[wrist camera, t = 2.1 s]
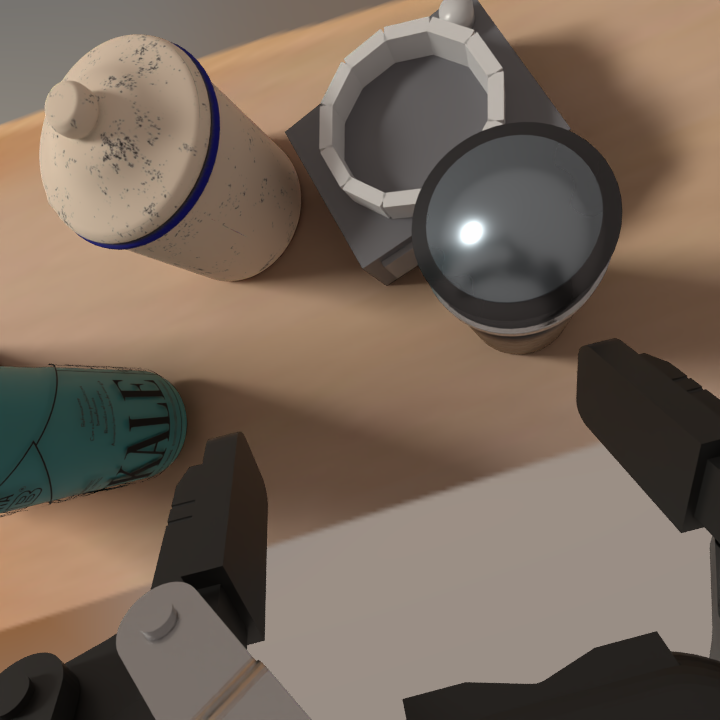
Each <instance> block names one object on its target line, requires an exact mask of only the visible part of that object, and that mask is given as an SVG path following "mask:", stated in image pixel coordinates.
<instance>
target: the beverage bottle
mask: <svg viewBox="0 0 720 720" xmlns="http://www.w3.org/2000/svg"><path fill="white" fill-rule="evenodd" d="M48 365H50V364H48ZM52 365H53V366H54V367H39V368H30V367H6V366H0V513H7V514H8V513H9V512H8V511H12V510H16V509H18V510H20V508H21V509H22V508H24V509H25V507H26V508H27V507H28V506H32V505H36V504H40V503H45V502H48V503H49V504H51V503H53V500H55V501H56V500H57V499H61V498H65V497H69V496H75V495H78V496H79V494H80V495H81V494H83V495H84V494H86V493H91V494H93V493H92V492H94V493H96V492H98V491H103V490H106V491H108V489H113V488H108V489H105V488H107V487H110V486H115V485H119V484H123V483H125V484H130V483H127V482H131V481H135V480H139V479H143V478H148V477H151V476H152V477H153V476H154V475H156V474H158V473H160V472H161V471H162V472H163V471H164V470H165V469H166V468H167V467H168V466H169V465H171V464H172V462H173V461H174V460H175V459H176V458H177V456H178V454H179V453H180V451H181V449H182V446H183V444H184V440H185V436H186V429H187V418H186V411H185V407H184V404H183V401H182V399H181V397H180V395H179V393H178V392H177V390H176V389H175V388H174V386H173V385H172V384H171V383H170V382H168V381H167V380H166V379H164V378H162V377H161V376H160V375H159V376H158V374H157V373H156V374H154V373H155V372H154V373H151V372H147V371H146V370H144V371H140V370H141V369H140V368H137V369H140V370H139V371H134V370H133V369H134V368H133V369H132V370H131V369H130V370H128V369H127V370H119V369H121V367H112V368H115V369H116V368H119V369H118V370H109V369H107V368H106V369H93V368H91V369H85V368H60V367H55V365H54V364H52ZM65 366H72V365H65ZM79 366H81V365H79ZM82 366H83V365H82ZM76 367H78V366H77V365H76ZM83 367H84V366H83ZM86 367H88V366H86ZM89 367H96V366H89ZM97 367H99V366H97ZM97 367H96V368H97ZM100 367H101V366H100ZM106 367H107V366H106ZM108 367H110V366H108ZM103 368H104V367H103ZM122 368H123V367H122ZM124 368H125V367H124ZM124 368H123V369H124ZM137 369H136V370H137ZM150 371H151V370H150ZM152 372H153V371H152ZM162 472H161V473H162ZM161 473H160V474H161ZM157 476H158V475H157ZM152 477H151V478H152ZM154 478H155V477H154ZM148 479H150V478H148ZM148 479H147V480H148ZM152 479H153V478H152ZM145 481H146V480H145ZM142 482H143V481H142ZM125 484H124V485H122V486H121V485H120V487H123V486H127V485H125ZM133 484H134V483H133ZM120 487H114V489H116V488H120ZM102 488H103V489H102ZM98 489H100V490H98ZM83 495H81V496H83ZM88 495H90V494H88ZM81 496H79V497H81ZM85 496H87V495H85ZM76 497H77V496H76ZM71 498H72V497H71ZM72 499H75V497H73V498H72ZM66 500H67V499H66ZM66 500H64V501H66ZM69 500H70V497H69ZM57 501H60V500H57ZM61 501H62V500H61ZM62 502H63V501H62ZM54 503H56V502H54ZM57 503H59V502H57ZM24 509H23V510H24ZM16 511H17V510H16ZM20 511H21V510H20ZM20 511H17V512H20ZM26 511H27V510H26ZM13 512H14V511H13ZM10 513H11V512H10ZM15 513H16V512H15ZM10 515H11V514H10ZM4 516H5V514H4ZM6 516H7V515H6ZM1 517H3V516H2V515H1Z"/></svg>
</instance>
